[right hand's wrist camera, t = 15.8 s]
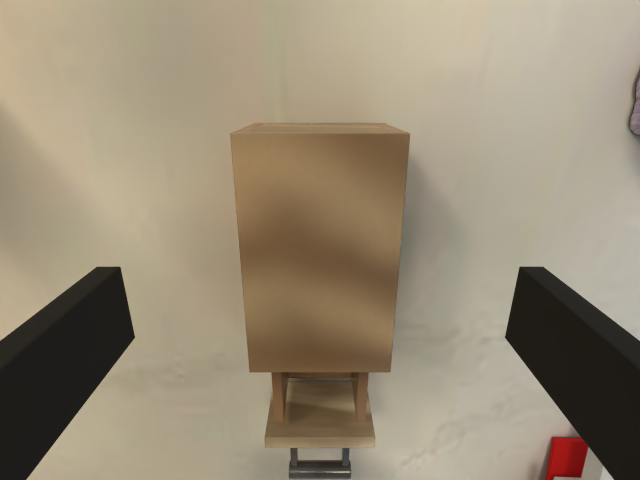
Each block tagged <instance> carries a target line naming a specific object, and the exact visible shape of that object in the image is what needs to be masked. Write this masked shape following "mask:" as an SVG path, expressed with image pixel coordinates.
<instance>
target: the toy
mask: <svg viewBox="0 0 640 480" xmlns="http://www.w3.org/2000/svg"><path fill="white" fill-rule="evenodd" d="M546 480H614V479H613V478H612V477H611V475H610V474H609V473H608V471H607V470H606V469H605V467H604V466H603V465H602V464H601V462H600V461H599V460H598V458H597V457H596V456H595V454H594V453H593V452H592V450H591V449H590V448H589V447H588V445H587V444H586V443H585V441H584V440H583V439H582V438H553V439H552V445H551V451H550V457H549V464H548V470H547V476H546Z"/></svg>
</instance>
